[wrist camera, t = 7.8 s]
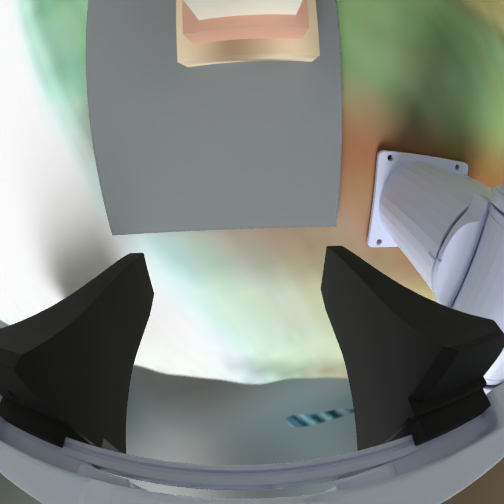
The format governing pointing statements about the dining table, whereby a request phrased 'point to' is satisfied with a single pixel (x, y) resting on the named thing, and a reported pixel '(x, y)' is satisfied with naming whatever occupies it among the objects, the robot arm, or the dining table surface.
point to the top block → (241, 7)
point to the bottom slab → (248, 46)
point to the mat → (210, 128)
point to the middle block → (245, 26)
